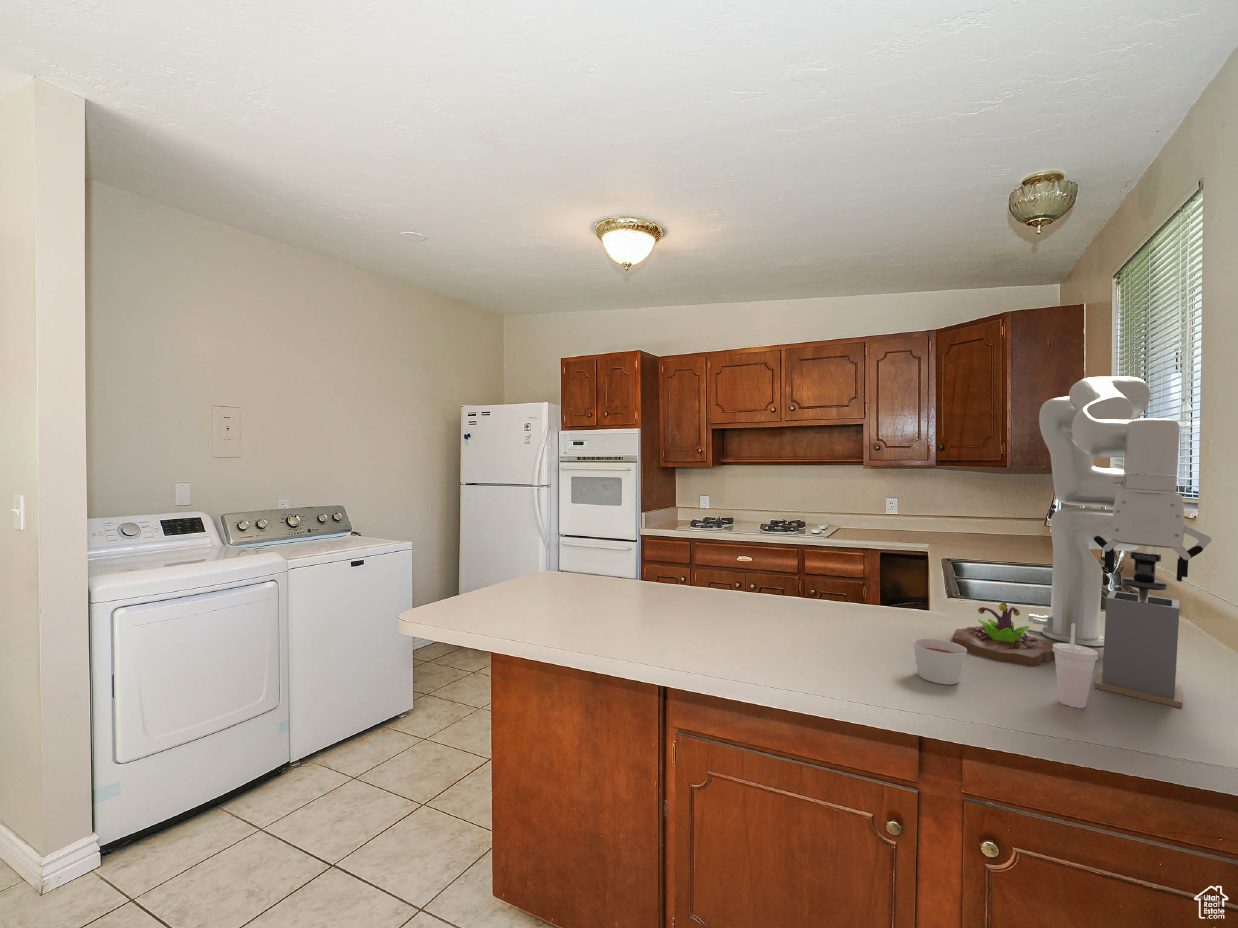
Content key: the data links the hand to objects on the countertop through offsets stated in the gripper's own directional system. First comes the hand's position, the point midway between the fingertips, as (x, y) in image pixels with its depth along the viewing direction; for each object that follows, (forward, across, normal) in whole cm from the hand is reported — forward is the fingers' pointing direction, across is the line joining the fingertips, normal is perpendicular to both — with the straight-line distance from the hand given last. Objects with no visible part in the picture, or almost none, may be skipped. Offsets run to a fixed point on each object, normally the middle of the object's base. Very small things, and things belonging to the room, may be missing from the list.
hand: (1144, 575), depth 113 cm
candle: (+22, -28, -24) cm, 43 cm away
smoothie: (+21, -8, -19) cm, 30 cm away
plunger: (+20, 0, 0) cm, 20 cm away
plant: (+22, -23, +8) cm, 33 cm away
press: (+21, 0, 0) cm, 21 cm away
